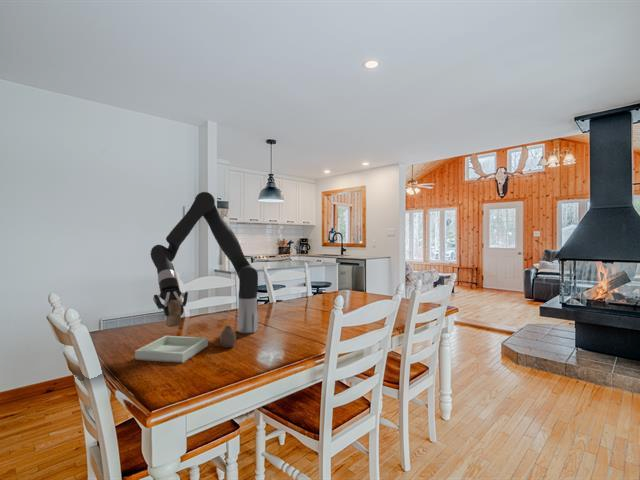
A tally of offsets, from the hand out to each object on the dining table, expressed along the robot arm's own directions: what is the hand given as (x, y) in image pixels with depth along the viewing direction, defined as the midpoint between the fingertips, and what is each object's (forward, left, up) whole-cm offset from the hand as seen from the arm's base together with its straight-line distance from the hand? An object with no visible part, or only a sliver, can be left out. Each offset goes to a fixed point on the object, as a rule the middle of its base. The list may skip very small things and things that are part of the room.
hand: (174, 314), depth 136 cm
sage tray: (+1, -1, -16) cm, 16 cm away
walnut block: (+1, -1, -5) cm, 5 cm away
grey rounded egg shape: (-18, -12, -16) cm, 27 cm away
